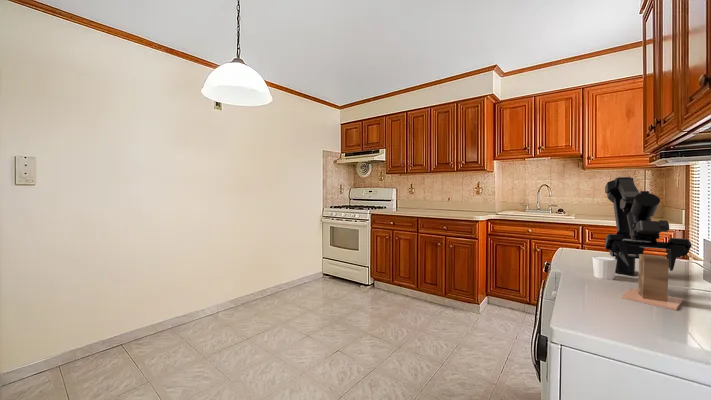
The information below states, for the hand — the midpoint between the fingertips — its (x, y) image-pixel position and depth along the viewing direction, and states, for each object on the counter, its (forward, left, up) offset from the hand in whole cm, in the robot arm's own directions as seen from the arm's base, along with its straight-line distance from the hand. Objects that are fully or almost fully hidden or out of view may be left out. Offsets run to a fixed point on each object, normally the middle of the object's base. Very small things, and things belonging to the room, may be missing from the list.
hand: (649, 267), depth 88 cm
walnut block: (+2, +1, -8) cm, 8 cm away
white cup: (-14, -14, -9) cm, 21 cm away
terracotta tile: (+2, +1, -9) cm, 9 cm away
